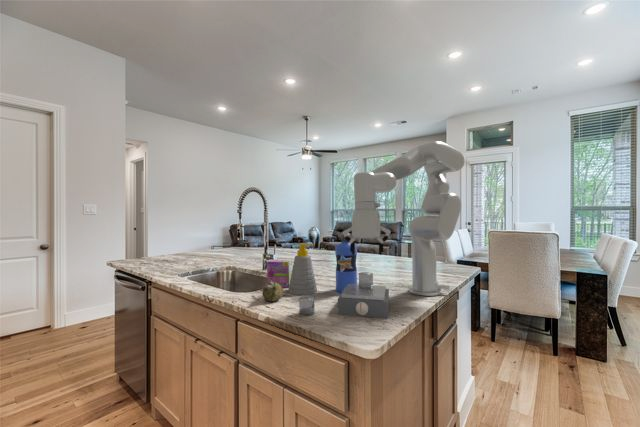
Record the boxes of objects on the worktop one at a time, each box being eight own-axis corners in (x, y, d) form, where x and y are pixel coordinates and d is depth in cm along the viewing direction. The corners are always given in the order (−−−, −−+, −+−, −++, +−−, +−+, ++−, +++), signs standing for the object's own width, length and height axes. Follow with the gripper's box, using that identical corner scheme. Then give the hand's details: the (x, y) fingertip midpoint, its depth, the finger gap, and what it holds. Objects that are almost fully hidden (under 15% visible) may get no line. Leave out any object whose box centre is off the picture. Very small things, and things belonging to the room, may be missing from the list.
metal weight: (373, 286, 105) (373, 272, 105) (372, 289, 101) (372, 275, 101) (359, 285, 107) (359, 271, 107) (358, 288, 102) (357, 274, 102)
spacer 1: (316, 311, 97) (316, 297, 97) (312, 316, 92) (311, 301, 92) (302, 310, 98) (302, 296, 98) (297, 315, 93) (297, 300, 93)
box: (267, 287, 130) (266, 261, 130) (271, 284, 136) (271, 259, 136) (289, 288, 128) (288, 261, 128) (292, 284, 134) (292, 259, 134)
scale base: (388, 302, 106) (388, 289, 106) (387, 318, 90) (387, 302, 90) (345, 299, 110) (345, 286, 110) (337, 314, 94) (337, 299, 94)
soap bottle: (313, 296, 116) (313, 245, 116) (284, 294, 118) (283, 244, 118) (320, 288, 128) (319, 242, 128) (293, 286, 130) (292, 241, 130)
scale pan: (385, 289, 105) (385, 286, 105) (384, 300, 92) (384, 297, 92) (348, 287, 109) (348, 284, 109) (341, 297, 95) (341, 294, 95)
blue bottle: (356, 294, 117) (355, 233, 118) (333, 292, 120) (333, 232, 120) (358, 288, 127) (358, 231, 127) (337, 287, 129) (337, 231, 129)
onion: (286, 301, 109) (286, 280, 109) (266, 304, 105) (265, 282, 105) (279, 296, 115) (279, 276, 115) (260, 299, 112) (259, 278, 112)
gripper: (390, 206, 105) (391, 252, 105) (343, 207, 110) (345, 252, 110) (389, 206, 98) (391, 256, 98) (339, 207, 102) (341, 255, 103)
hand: (366, 254), depth 104 cm, fingers open, 9 cm apart
